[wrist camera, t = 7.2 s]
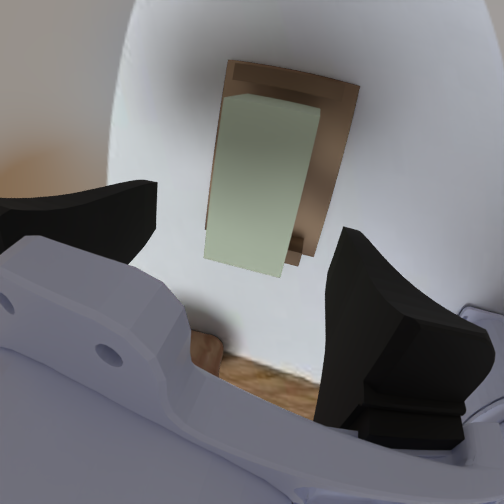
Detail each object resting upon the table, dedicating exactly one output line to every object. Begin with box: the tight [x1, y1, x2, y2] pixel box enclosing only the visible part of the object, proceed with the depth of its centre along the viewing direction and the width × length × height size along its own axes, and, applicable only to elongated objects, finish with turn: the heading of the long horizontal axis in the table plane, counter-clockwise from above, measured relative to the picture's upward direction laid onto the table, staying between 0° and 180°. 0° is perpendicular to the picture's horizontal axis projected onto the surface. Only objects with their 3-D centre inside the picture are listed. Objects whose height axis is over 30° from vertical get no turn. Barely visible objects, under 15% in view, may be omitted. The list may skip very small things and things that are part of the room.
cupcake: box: [190, 330, 223, 378], centre depth 26 cm, size 9×9×10 cm
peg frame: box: [205, 60, 360, 266], centre depth 19 cm, size 12×8×3 cm, turn 170°
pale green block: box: [204, 93, 320, 278], centre depth 16 cm, size 8×4×4 cm, turn 170°
